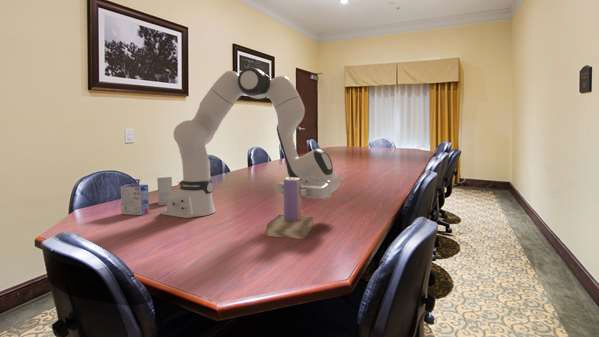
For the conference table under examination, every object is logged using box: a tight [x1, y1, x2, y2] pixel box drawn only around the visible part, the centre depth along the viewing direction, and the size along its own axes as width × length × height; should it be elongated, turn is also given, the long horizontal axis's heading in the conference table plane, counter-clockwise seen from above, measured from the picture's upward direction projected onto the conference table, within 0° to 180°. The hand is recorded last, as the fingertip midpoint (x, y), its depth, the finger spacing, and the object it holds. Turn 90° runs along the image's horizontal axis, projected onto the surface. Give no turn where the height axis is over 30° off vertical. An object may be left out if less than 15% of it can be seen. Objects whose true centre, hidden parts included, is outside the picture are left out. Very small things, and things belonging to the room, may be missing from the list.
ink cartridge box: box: [120, 178, 150, 216], centre depth 153 cm, size 10×6×14 cm, turn 79°
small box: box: [156, 174, 173, 206], centre depth 172 cm, size 8×6×13 cm
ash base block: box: [266, 214, 314, 240], centre depth 127 cm, size 13×13×4 cm
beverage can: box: [283, 176, 302, 223], centre depth 125 cm, size 6×6×15 cm
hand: (288, 192), depth 125 cm, fingers open, 4 cm apart
